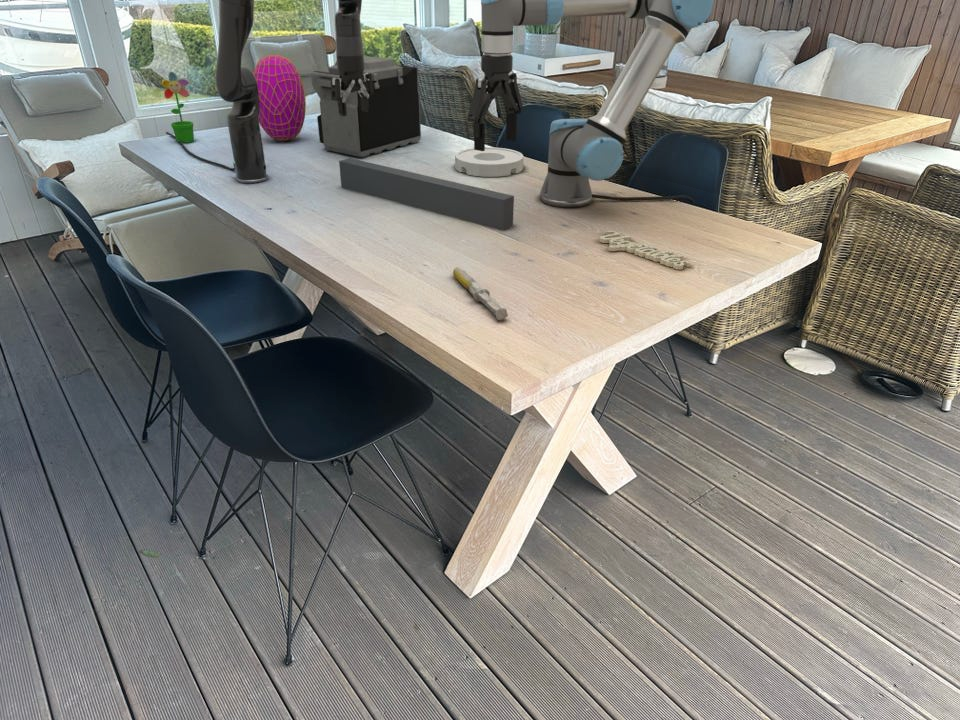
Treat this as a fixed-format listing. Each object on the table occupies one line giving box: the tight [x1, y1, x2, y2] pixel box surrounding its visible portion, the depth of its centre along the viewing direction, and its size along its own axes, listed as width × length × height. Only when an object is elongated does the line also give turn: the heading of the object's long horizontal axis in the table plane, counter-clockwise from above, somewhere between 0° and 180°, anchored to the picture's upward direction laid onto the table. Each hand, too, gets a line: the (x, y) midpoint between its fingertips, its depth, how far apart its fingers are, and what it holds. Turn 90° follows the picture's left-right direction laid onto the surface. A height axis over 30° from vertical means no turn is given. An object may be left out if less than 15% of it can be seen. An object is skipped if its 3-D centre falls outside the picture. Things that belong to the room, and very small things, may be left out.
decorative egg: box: [252, 54, 307, 142], centre depth 257 cm, size 19×19×30 cm
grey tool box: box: [310, 55, 422, 159], centre depth 250 cm, size 37×22×30 cm, turn 144°
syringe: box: [452, 266, 509, 321], centre depth 145 cm, size 25×4×3 cm, turn 21°
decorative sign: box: [599, 230, 690, 270], centre depth 167 cm, size 26×1×10 cm
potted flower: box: [160, 71, 195, 144], centre depth 255 cm, size 9×8×25 cm
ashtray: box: [454, 146, 525, 178], centre depth 232 cm, size 23×23×4 cm
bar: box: [338, 157, 515, 231], centre depth 196 cm, size 61×4×8 cm, turn 53°
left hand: (354, 113), depth 199 cm, fingers open, 8 cm apart
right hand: (495, 145), depth 174 cm, fingers open, 13 cm apart
